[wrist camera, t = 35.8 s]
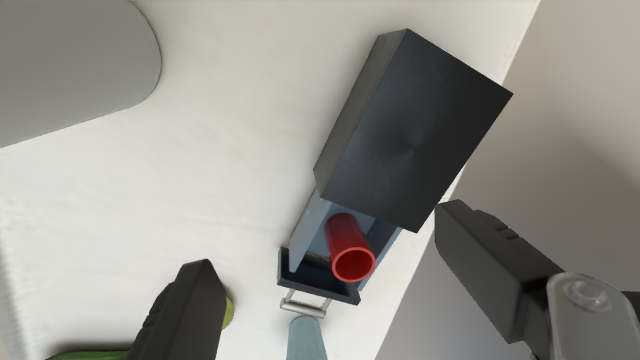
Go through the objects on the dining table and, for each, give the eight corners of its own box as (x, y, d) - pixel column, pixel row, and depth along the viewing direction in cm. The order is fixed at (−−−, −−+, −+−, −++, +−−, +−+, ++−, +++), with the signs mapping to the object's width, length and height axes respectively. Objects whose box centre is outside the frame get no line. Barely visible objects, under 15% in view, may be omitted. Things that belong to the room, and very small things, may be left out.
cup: (281, 340, 52) (280, 403, 42) (285, 311, 49) (286, 371, 39) (320, 340, 53) (328, 401, 44) (327, 311, 50) (337, 370, 41)
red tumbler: (317, 237, 41) (324, 275, 34) (333, 207, 39) (345, 241, 32) (348, 247, 42) (362, 286, 35) (365, 219, 41) (383, 254, 33)
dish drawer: (332, 296, 48) (339, 332, 41) (264, 279, 44) (261, 314, 38) (402, 185, 40) (423, 208, 34) (327, 153, 37) (335, 172, 31)
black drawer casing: (392, 201, 42) (416, 233, 34) (312, 169, 38) (319, 197, 31) (464, 86, 36) (514, 93, 28) (378, 35, 32) (407, 27, 25)
